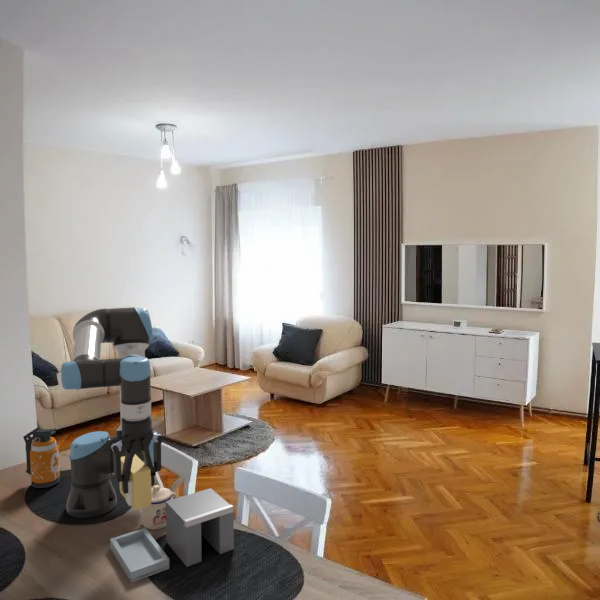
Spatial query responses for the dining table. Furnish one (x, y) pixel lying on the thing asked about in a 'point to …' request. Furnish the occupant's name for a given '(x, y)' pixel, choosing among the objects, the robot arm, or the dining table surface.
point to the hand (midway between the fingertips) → (138, 500)
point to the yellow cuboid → (139, 483)
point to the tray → (139, 554)
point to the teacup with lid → (157, 508)
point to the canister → (42, 458)
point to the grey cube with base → (199, 524)
